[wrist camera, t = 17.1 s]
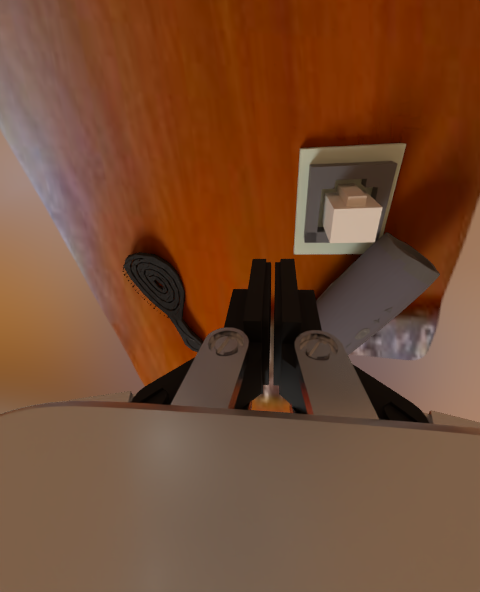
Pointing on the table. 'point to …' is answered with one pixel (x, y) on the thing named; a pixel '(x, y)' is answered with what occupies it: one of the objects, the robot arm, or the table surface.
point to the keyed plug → (350, 215)
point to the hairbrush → (162, 290)
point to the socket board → (325, 178)
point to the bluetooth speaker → (374, 291)
